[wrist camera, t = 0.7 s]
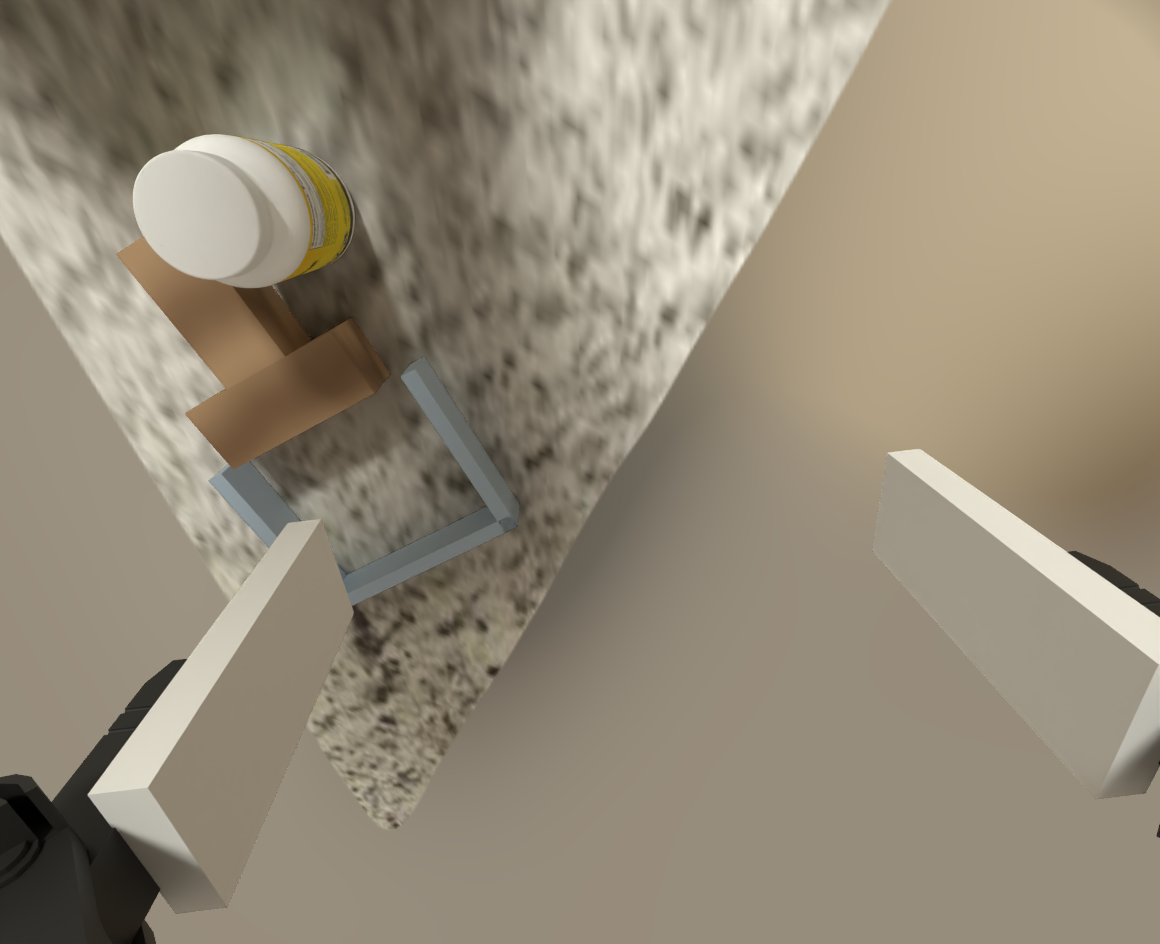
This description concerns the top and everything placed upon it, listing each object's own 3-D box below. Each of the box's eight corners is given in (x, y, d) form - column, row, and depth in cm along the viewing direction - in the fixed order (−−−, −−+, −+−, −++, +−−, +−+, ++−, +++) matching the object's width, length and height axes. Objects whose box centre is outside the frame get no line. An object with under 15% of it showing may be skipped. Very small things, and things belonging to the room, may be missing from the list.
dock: (231, 460, 39) (208, 480, 36) (424, 356, 36) (414, 369, 34) (343, 590, 44) (330, 616, 41) (519, 504, 41) (518, 526, 39)
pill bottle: (254, 267, 34) (133, 297, 24) (232, 144, 31) (85, 120, 21) (364, 271, 34) (290, 303, 24) (352, 150, 31) (263, 130, 22)
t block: (121, 273, 33) (70, 282, 30) (262, 185, 32) (227, 183, 28) (262, 443, 38) (233, 469, 35) (391, 374, 37) (374, 393, 33)
